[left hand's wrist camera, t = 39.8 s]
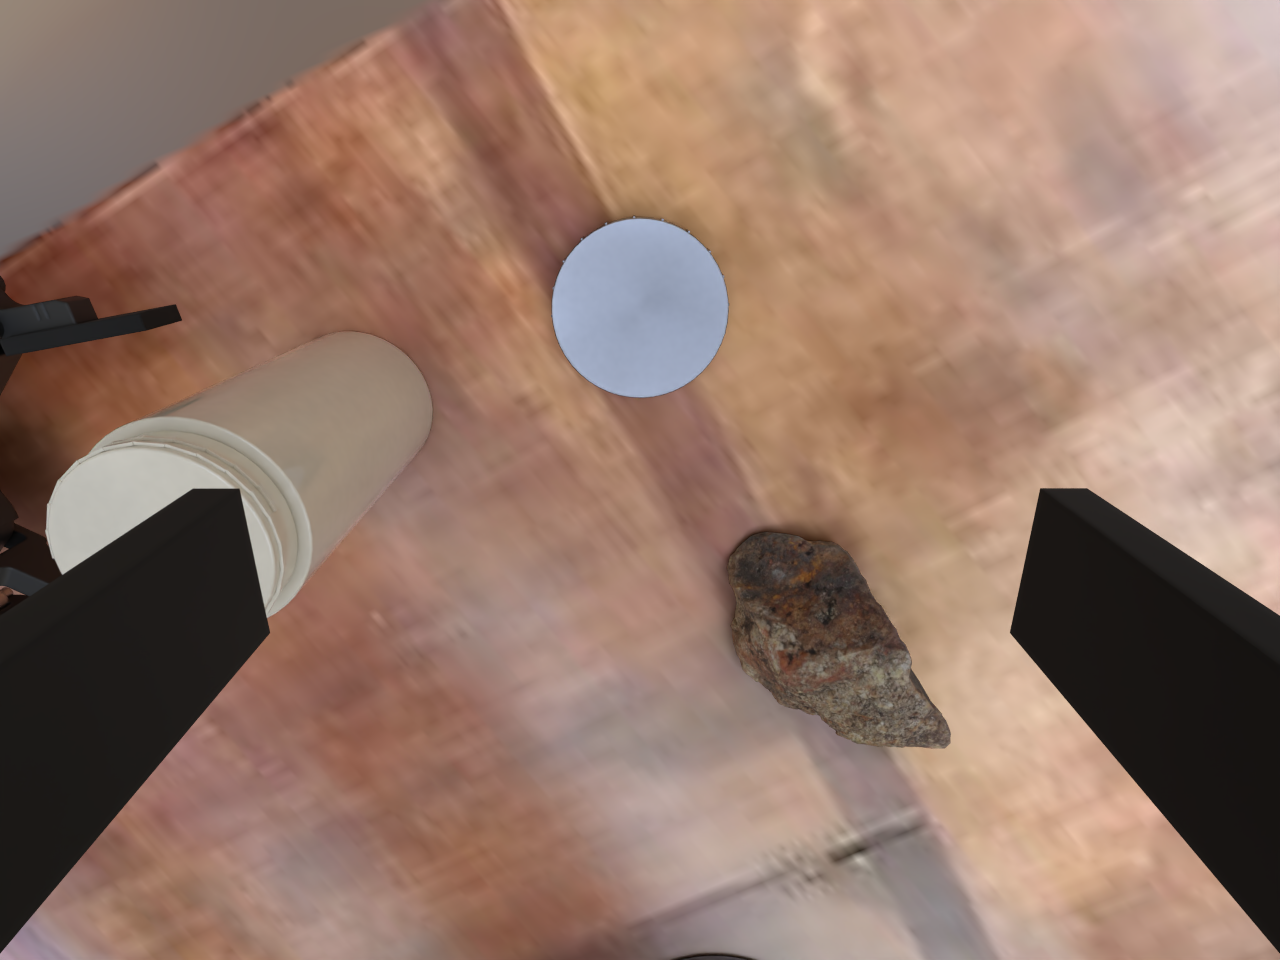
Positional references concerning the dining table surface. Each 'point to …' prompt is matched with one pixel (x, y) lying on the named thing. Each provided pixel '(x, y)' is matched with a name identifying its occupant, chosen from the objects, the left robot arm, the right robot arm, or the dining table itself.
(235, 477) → the jar
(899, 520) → the dining table surface
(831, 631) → the rock
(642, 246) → the lid
